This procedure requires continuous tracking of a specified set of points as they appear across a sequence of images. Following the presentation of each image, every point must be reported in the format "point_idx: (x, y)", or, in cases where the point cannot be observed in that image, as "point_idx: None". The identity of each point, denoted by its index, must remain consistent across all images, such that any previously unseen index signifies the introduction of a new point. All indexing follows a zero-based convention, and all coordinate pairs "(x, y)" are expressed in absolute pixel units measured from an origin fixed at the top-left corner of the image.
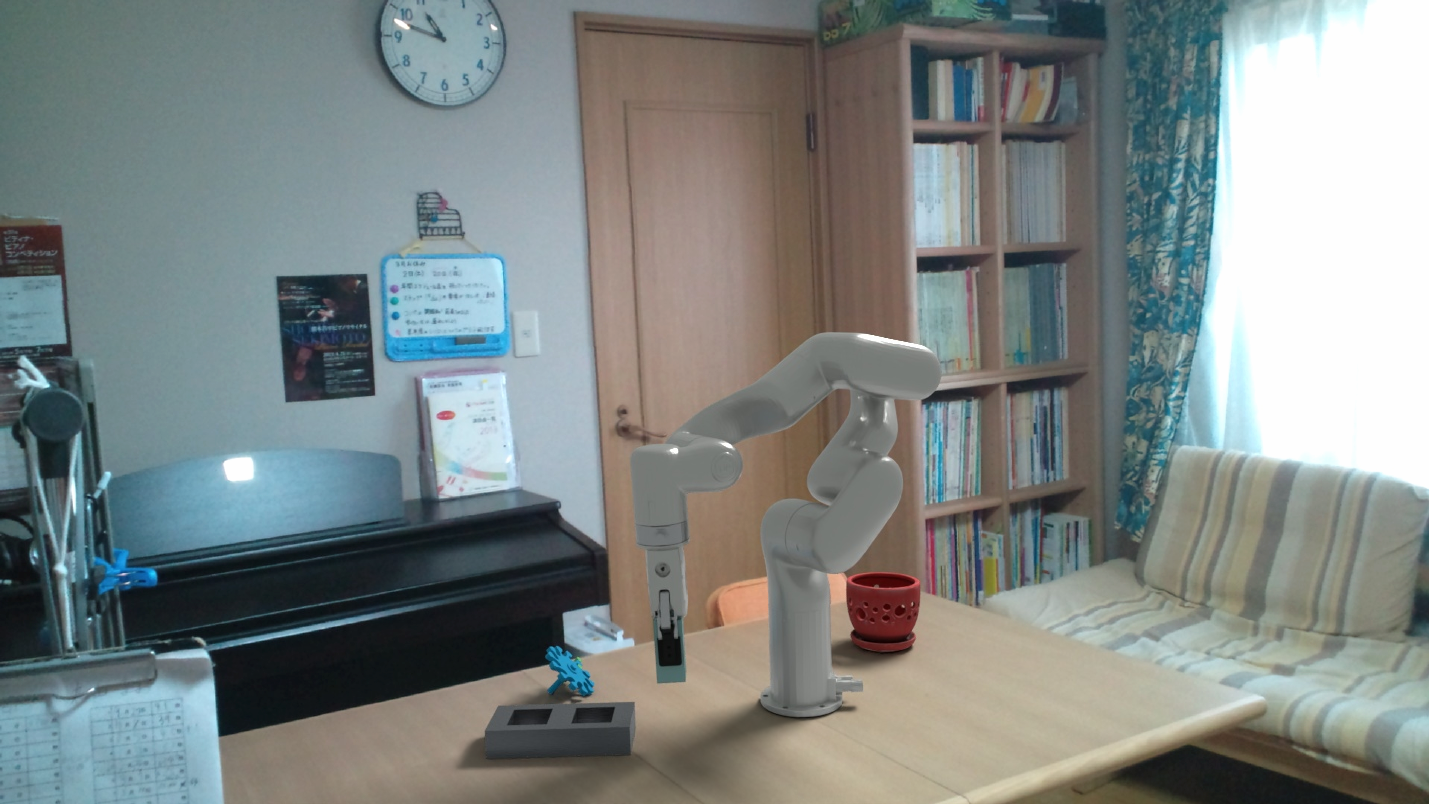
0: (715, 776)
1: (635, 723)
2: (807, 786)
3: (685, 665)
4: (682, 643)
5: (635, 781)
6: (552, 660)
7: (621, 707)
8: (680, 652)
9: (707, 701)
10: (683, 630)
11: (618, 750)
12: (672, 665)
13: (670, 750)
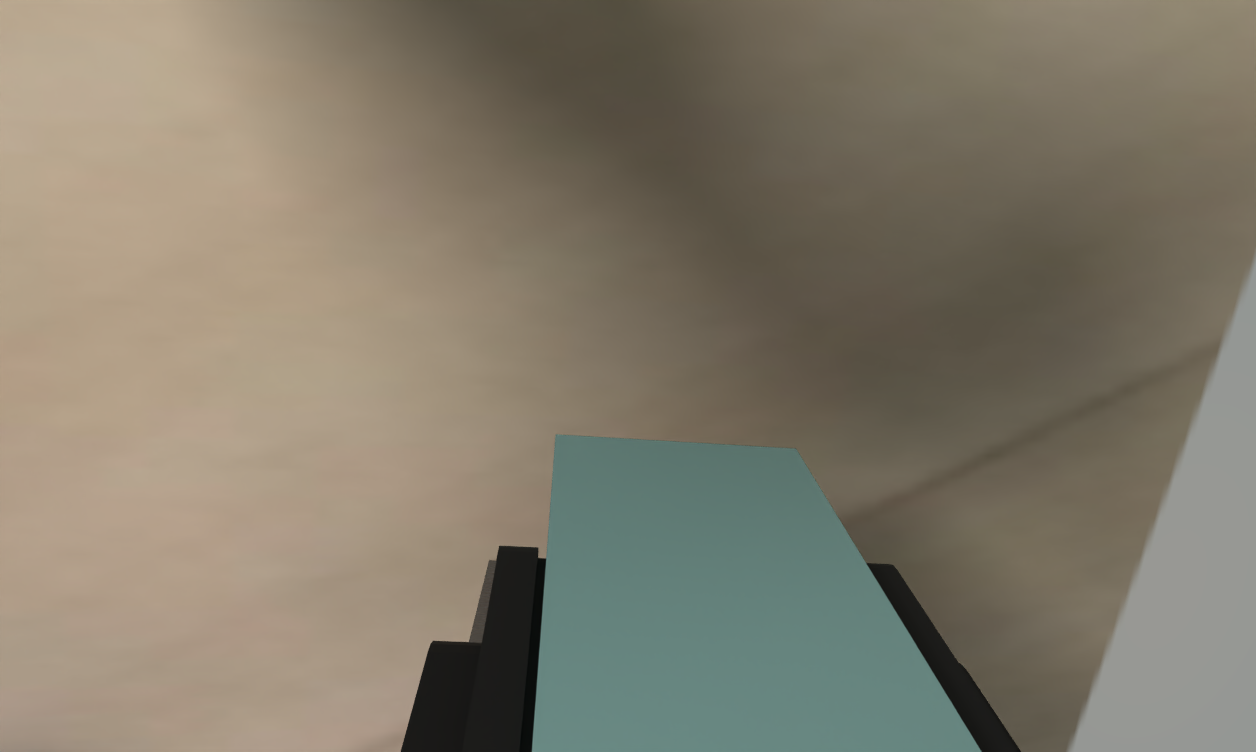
0: (1111, 208)
1: (486, 573)
2: None
3: (642, 476)
4: (939, 686)
5: (1046, 555)
6: None
7: None
8: (937, 646)
9: (124, 170)
10: (628, 724)
11: None
12: None
13: (773, 406)
